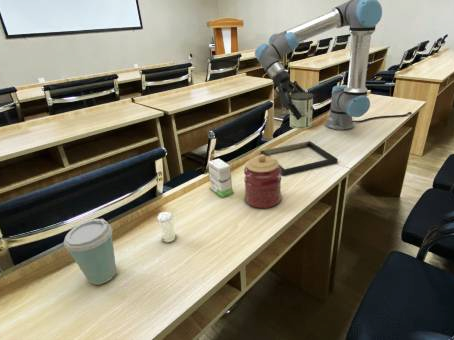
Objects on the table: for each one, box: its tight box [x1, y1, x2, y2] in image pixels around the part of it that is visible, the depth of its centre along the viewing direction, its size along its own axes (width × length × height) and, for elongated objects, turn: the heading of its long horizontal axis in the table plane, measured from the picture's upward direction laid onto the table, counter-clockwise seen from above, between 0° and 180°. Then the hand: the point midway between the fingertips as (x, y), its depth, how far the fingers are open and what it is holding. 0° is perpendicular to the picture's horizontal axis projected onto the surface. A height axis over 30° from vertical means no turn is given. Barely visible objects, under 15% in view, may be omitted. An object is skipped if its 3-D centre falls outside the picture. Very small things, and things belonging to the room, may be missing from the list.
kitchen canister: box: [243, 154, 282, 209], centre depth 108 cm, size 13×13×18 cm
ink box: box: [207, 158, 234, 198], centre depth 115 cm, size 9×5×12 cm, turn 38°
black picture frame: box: [259, 140, 339, 176], centre depth 141 cm, size 27×23×2 cm
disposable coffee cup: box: [63, 218, 117, 286], centre depth 77 cm, size 11×11×15 cm
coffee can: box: [289, 91, 314, 130], centre depth 138 cm, size 10×10×14 cm
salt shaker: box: [156, 211, 176, 243], centre depth 91 cm, size 4×5×10 cm
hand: (306, 115), depth 137 cm, fingers closed on coffee can, 10 cm apart
